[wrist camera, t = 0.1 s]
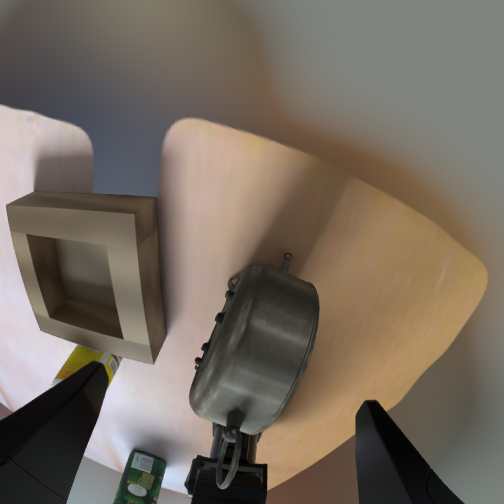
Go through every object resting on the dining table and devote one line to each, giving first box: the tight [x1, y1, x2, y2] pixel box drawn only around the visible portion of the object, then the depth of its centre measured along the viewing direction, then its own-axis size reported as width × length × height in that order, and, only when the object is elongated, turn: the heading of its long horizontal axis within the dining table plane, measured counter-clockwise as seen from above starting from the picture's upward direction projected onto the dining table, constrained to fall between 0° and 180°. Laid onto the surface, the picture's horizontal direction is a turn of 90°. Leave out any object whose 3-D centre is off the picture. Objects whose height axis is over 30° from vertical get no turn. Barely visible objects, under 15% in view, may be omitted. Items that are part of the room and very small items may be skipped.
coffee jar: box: [113, 451, 166, 504], centre depth 36 cm, size 10×8×19 cm
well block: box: [6, 192, 166, 365], centre depth 23 cm, size 14×14×4 cm
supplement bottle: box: [52, 344, 120, 391], centre depth 25 cm, size 6×6×10 cm
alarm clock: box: [189, 253, 320, 489], centre depth 17 cm, size 11×5×16 cm, turn 157°
